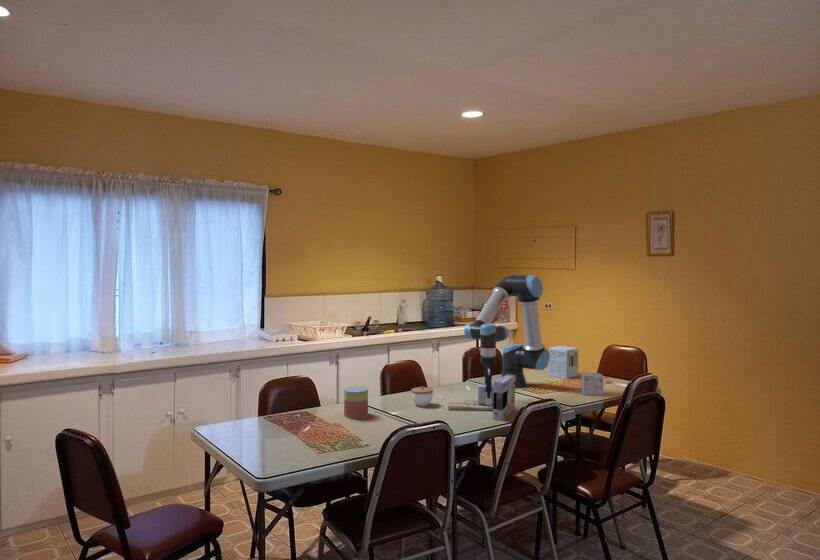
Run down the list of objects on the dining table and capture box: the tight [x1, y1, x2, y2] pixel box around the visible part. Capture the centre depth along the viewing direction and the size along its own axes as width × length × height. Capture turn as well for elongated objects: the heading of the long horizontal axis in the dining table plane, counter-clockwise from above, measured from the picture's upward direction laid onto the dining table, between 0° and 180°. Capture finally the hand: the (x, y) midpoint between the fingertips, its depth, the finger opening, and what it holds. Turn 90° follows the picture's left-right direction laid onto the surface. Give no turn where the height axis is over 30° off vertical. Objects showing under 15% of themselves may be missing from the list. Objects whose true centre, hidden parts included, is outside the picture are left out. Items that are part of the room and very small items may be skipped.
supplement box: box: [548, 345, 579, 380], centre depth 357 cm, size 13×13×18 cm
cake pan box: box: [492, 374, 516, 421], centre depth 268 cm, size 19×5×18 cm, turn 151°
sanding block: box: [477, 384, 494, 405], centre depth 283 cm, size 5×9×9 cm, turn 86°
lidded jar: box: [410, 385, 434, 407], centre depth 288 cm, size 11×11×9 cm
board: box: [447, 399, 493, 411], centre depth 283 cm, size 13×26×2 cm, turn 86°
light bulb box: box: [581, 372, 605, 396], centre depth 310 cm, size 11×7×11 cm, turn 84°
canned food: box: [343, 386, 369, 419], centre depth 270 cm, size 11×11×12 cm
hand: (488, 403), depth 283 cm, fingers closed on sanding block, 5 cm apart
